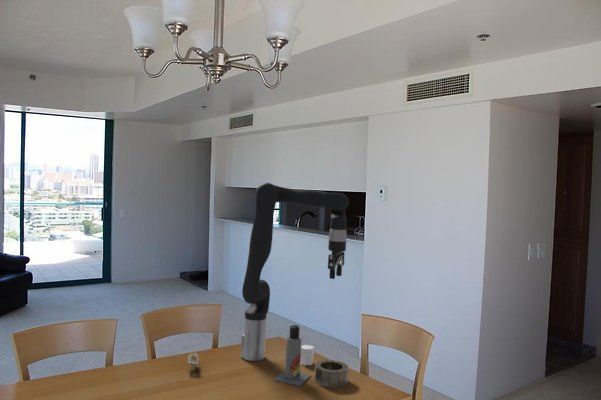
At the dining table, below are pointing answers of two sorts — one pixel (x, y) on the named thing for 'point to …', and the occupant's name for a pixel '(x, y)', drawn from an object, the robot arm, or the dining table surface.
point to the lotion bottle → (293, 354)
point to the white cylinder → (307, 354)
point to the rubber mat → (296, 382)
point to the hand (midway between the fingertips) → (335, 277)
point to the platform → (193, 360)
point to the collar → (331, 374)
